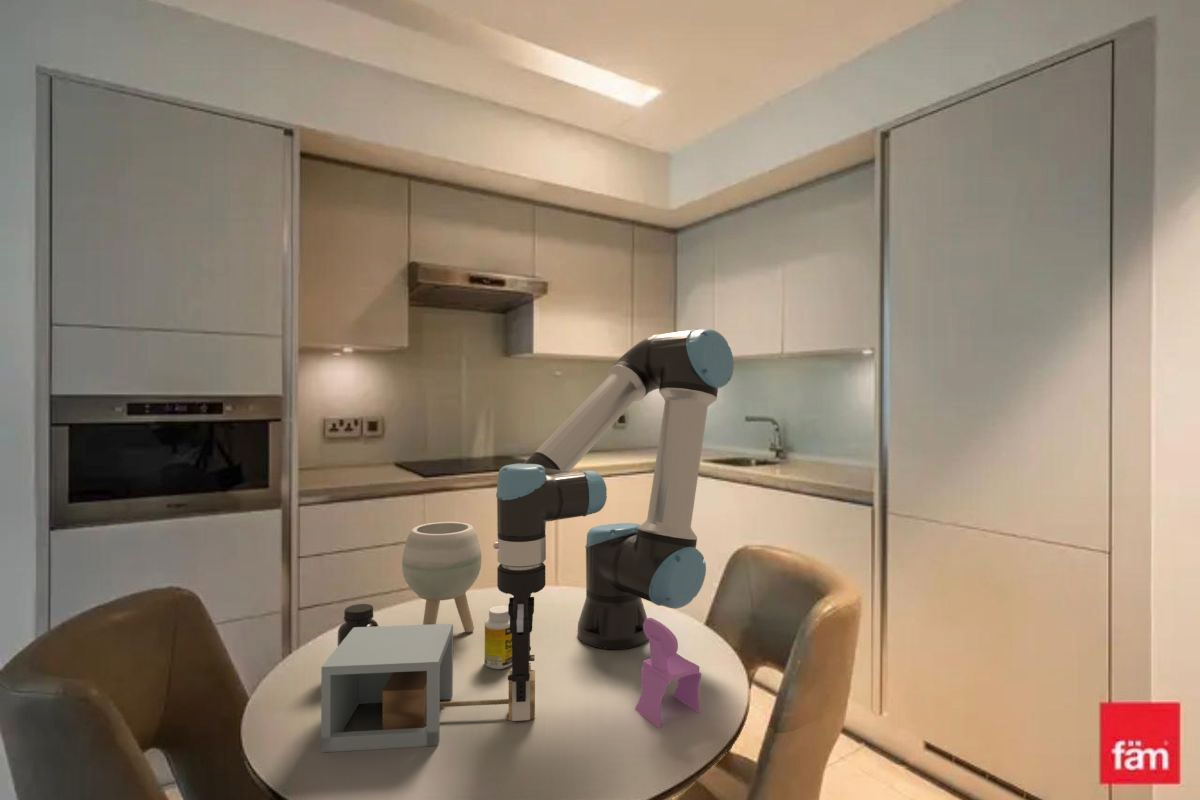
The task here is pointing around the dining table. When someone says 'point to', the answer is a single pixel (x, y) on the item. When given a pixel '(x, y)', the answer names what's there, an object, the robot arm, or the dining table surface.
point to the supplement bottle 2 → (498, 638)
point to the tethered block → (410, 700)
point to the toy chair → (665, 673)
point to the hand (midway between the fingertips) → (521, 711)
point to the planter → (442, 566)
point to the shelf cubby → (384, 682)
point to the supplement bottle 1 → (356, 619)
